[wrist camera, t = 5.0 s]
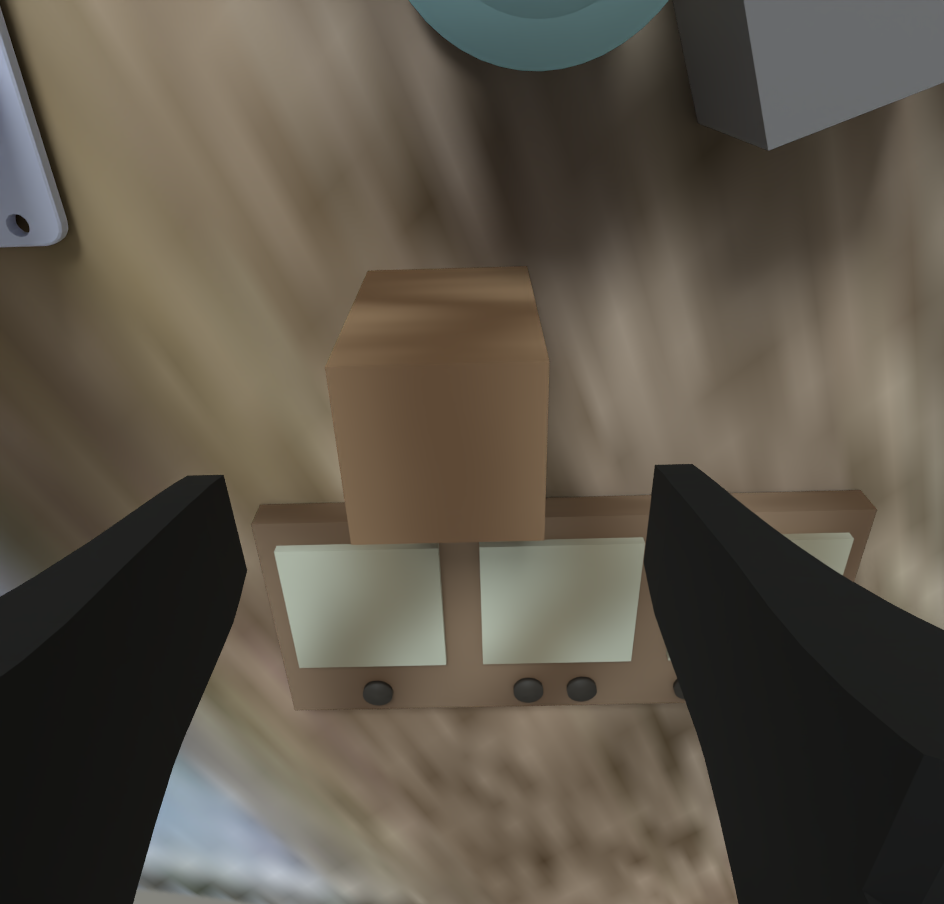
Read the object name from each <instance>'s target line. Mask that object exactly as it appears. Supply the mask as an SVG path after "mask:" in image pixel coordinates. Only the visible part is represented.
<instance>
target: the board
mask: <svg viewBox="0 0 944 904" xmlns="http://www.w3.org/2000/svg"><path fill="white" fill-rule="evenodd" d="M730 494H731V495H732V496H733V497H735V498H736V499H737V500H738V501H740V502H741V503H742V504H743V505H745V506H746V507H747V508H748V509H750V510H751V511H752V512H753V513H755V514H756V515H757V516H759V517H760V518H761V519H762V520H764V521H765V522H766V523H768V524H769V525H770V526H772V527H773V528H774V529H776V530H777V531H778V532H780V533H781V534H782V535H784V536H785V537H787V538H788V539H789V540H791V541H792V542H793V543H795V544H796V545H798V546H799V547H801V548H802V549H803V550H805V551H806V552H808V553H809V554H811V555H812V556H814V557H815V558H817V559H818V560H820V561H821V562H823V563H824V564H826V565H827V566H829V567H830V568H832V569H833V570H835V571H836V572H838V573H840V574H841V575H843V576H844V577H846V578H848V579H849V580H851V581H853V582H854V580H855V577H856V574H857V571H858V568H859V565H860V562H861V558H862V555H863V552H864V549H865V546H866V543H867V540H868V537H869V533H870V530H871V527H872V524H873V521H874V518H875V515H876V512H877V509H876V508H875V506H874V505H873V504H872V503H871V502H870V501H869V499H868V498H867V497H866V496H865V495H864V494H863V492H862V491H861V490H846V491H805V492H763V493H730ZM650 503H651V495H639V496H598V497H557V498H546V499H545V534H544V541H504V542H461V543H417V544H374V545H351V540H350V533H349V527H348V520H347V513H346V506H345V503H309V504H267V505H260V506H259V508H258V511H257V513H256V515H255V517H254V519H253V522H252V524H251V526H252V530H253V534H254V538H255V543H256V547H257V551H258V555H259V560H260V564H261V568H262V573H263V577H264V581H265V585H266V590H267V594H268V598H269V602H270V607H271V611H272V615H273V619H274V624H275V628H276V632H277V637H278V641H279V645H280V649H281V654H282V658H283V662H284V666H285V671H286V675H287V679H288V683H289V688H290V692H291V696H292V701H293V705H294V709H295V710H337V709H389V708H441V707H493V706H545V705H596V704H648V703H686V701H685V699H684V696H683V693H682V690H681V688H680V685H679V682H678V679H677V676H676V674H675V671H674V668H673V665H672V663H671V660H670V657H669V654H668V652H667V649H666V646H665V643H664V640H663V637H662V635H661V632H660V629H659V626H658V623H657V620H656V617H655V614H654V610H653V605H652V601H651V597H650V592H649V587H648V582H647V577H646V572H645V567H644V554H645V545H646V537H647V528H648V520H649V512H650Z"/></svg>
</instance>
